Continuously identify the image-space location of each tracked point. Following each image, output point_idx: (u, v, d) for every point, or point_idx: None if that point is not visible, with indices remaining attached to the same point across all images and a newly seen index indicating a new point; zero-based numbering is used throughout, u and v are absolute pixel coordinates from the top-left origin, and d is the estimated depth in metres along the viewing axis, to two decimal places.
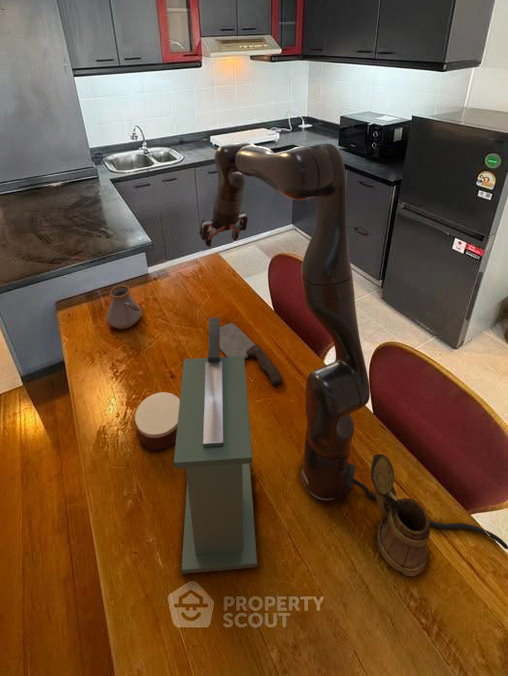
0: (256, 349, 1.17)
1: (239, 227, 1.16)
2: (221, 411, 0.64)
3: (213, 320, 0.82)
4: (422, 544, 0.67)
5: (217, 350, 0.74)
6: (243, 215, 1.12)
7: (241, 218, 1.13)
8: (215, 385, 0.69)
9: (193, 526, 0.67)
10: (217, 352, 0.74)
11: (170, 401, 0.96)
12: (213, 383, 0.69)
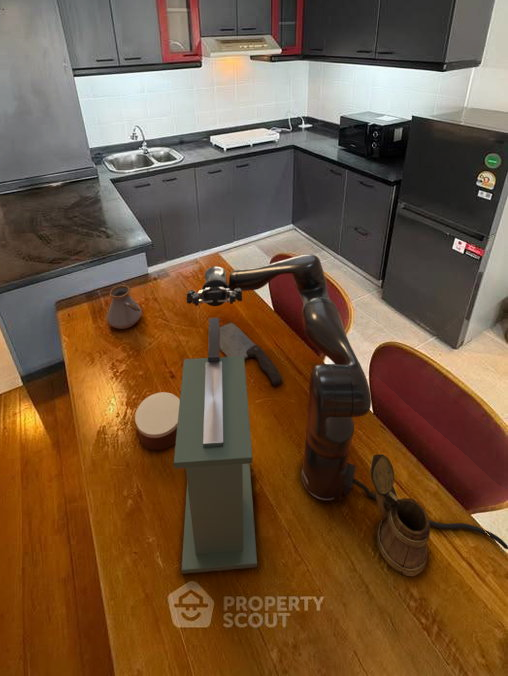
0: (256, 349, 1.17)
1: None
2: (221, 411, 0.64)
3: (213, 320, 0.82)
4: (422, 544, 0.67)
5: (217, 350, 0.74)
6: None
7: None
8: (215, 385, 0.69)
9: (193, 526, 0.67)
10: (217, 352, 0.74)
11: (170, 401, 0.96)
12: (213, 383, 0.69)
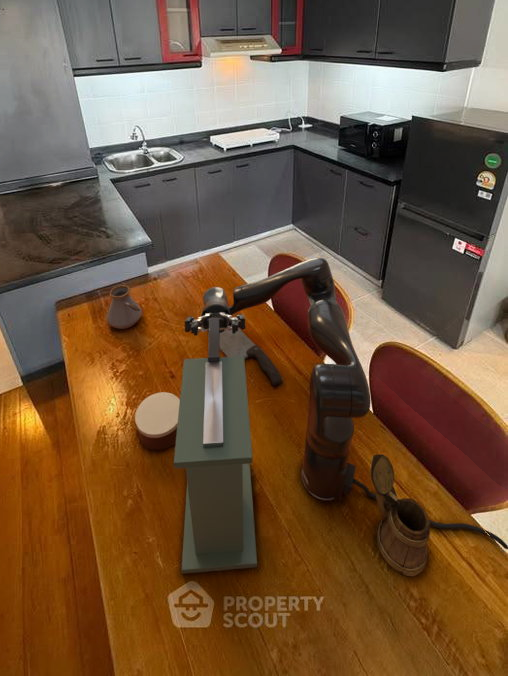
0: (256, 349, 1.17)
1: None
2: (221, 411, 0.64)
3: (213, 320, 0.82)
4: (422, 544, 0.67)
5: (217, 350, 0.74)
6: None
7: (236, 317, 0.94)
8: (215, 385, 0.69)
9: (193, 526, 0.67)
10: (217, 352, 0.74)
11: (170, 401, 0.96)
12: (213, 383, 0.69)
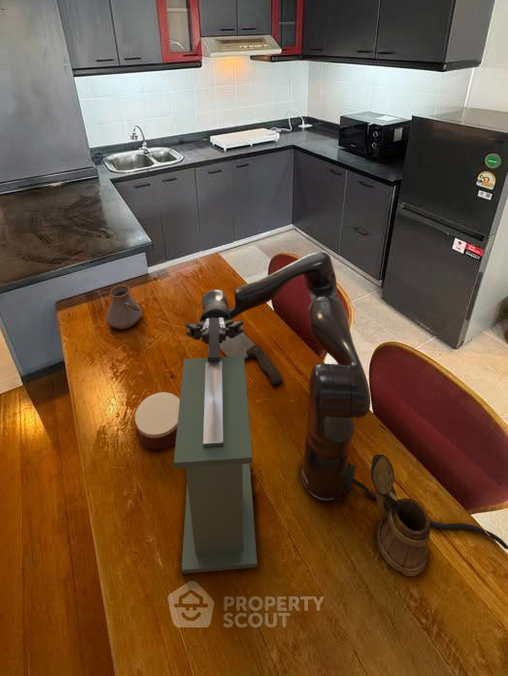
0: (256, 349, 1.17)
1: None
2: (221, 411, 0.64)
3: (213, 320, 0.82)
4: (422, 544, 0.67)
5: (217, 350, 0.74)
6: None
7: None
8: (215, 385, 0.69)
9: (193, 526, 0.67)
10: (217, 352, 0.74)
11: (170, 401, 0.96)
12: (213, 383, 0.69)
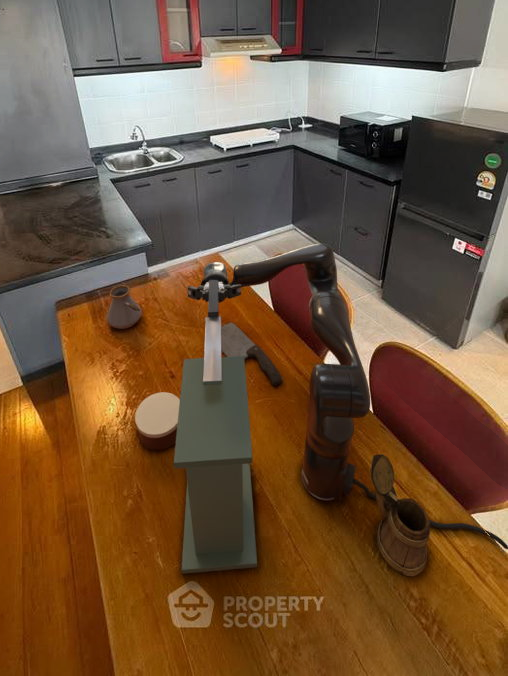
0: (256, 349, 1.17)
1: None
2: (220, 356, 0.70)
3: (213, 282, 0.88)
4: (422, 544, 0.67)
5: (216, 306, 0.80)
6: None
7: None
8: (214, 335, 0.74)
9: (193, 526, 0.67)
10: (216, 308, 0.80)
11: (170, 401, 0.96)
12: (212, 333, 0.75)
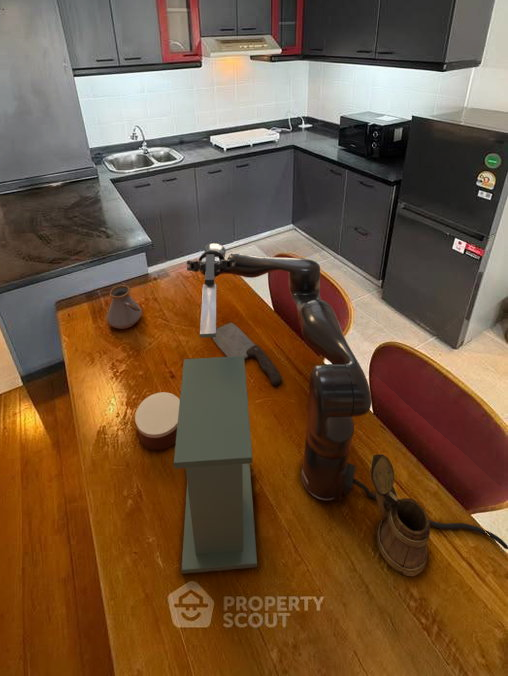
0: (256, 349, 1.17)
1: None
2: (215, 314, 0.80)
3: (210, 256, 0.98)
4: (422, 544, 0.67)
5: (212, 275, 0.90)
6: None
7: None
8: (210, 298, 0.84)
9: (193, 526, 0.67)
10: (212, 276, 0.90)
11: (170, 401, 0.96)
12: (208, 297, 0.85)
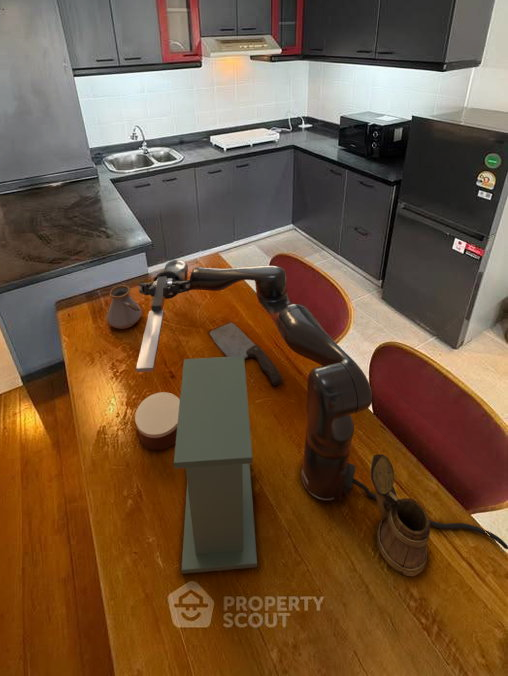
0: (256, 349, 1.17)
1: None
2: (155, 346, 0.76)
3: (161, 278, 0.94)
4: (422, 544, 0.67)
5: (160, 301, 0.86)
6: None
7: None
8: (154, 327, 0.80)
9: (193, 526, 0.67)
10: (160, 302, 0.86)
11: (170, 401, 0.96)
12: (152, 325, 0.81)
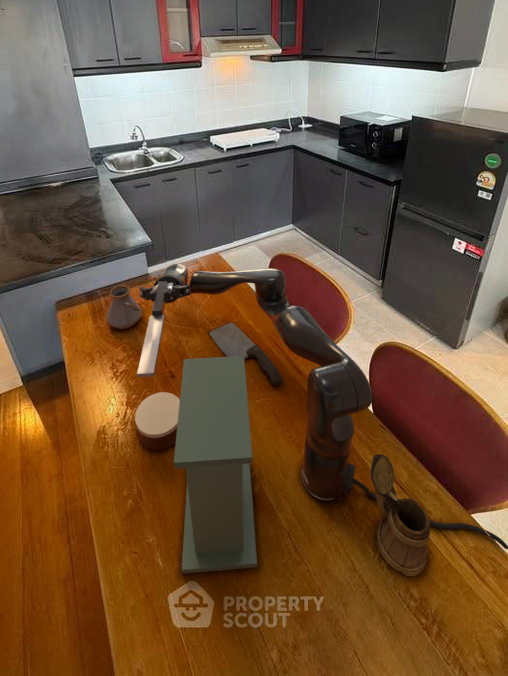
0: (256, 349, 1.17)
1: None
2: (156, 351, 0.76)
3: (162, 283, 0.94)
4: (422, 544, 0.67)
5: (160, 306, 0.87)
6: None
7: None
8: (155, 332, 0.81)
9: (193, 526, 0.67)
10: (160, 307, 0.86)
11: (170, 401, 0.96)
12: (153, 330, 0.81)
